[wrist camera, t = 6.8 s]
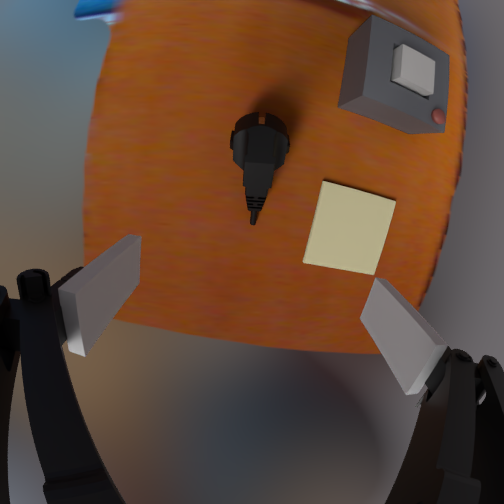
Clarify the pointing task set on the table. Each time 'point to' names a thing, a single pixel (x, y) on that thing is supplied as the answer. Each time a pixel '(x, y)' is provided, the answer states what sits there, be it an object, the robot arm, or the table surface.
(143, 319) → the table surface
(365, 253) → the pad
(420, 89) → the button
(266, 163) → the power plug
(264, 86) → the table surface
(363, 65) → the switch box
